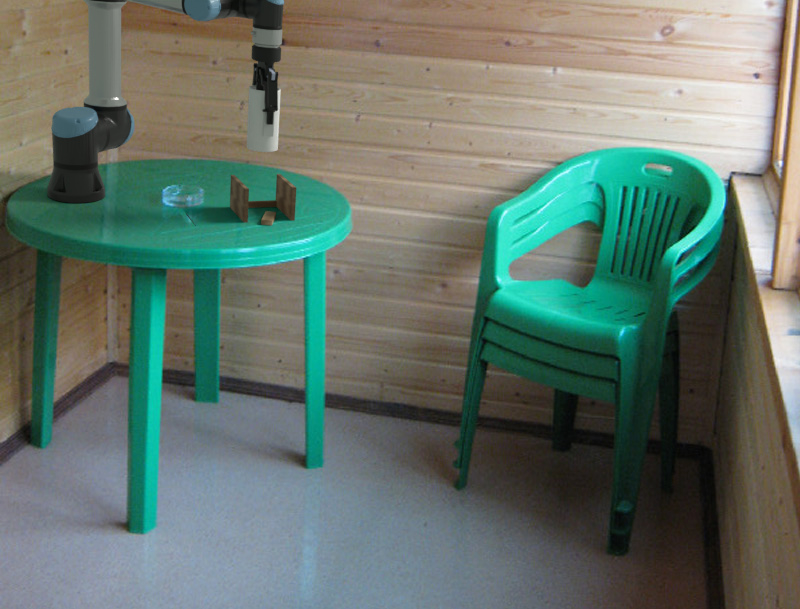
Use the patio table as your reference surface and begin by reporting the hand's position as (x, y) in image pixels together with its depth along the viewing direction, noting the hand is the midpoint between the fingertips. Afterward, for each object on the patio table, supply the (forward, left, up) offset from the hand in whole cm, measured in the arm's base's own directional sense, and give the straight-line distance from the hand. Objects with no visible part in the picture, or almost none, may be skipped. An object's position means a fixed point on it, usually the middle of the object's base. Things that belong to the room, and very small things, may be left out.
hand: (262, 132), depth 279 cm
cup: (0, 0, -4) cm, 4 cm away
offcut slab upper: (+7, 0, -22) cm, 23 cm away
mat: (+1, -14, -23) cm, 27 cm away
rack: (+1, 0, -23) cm, 23 cm away
